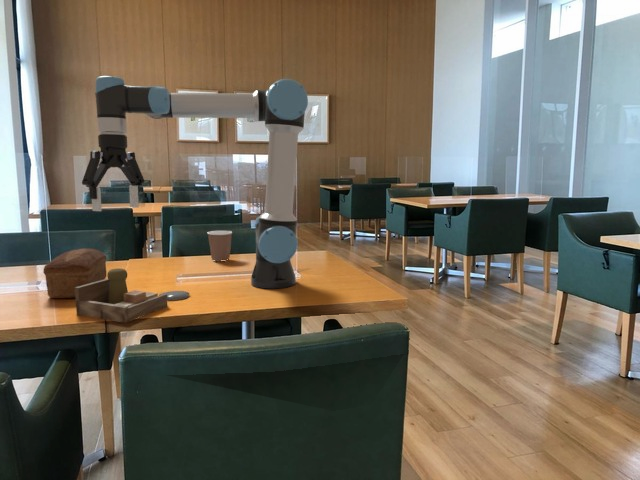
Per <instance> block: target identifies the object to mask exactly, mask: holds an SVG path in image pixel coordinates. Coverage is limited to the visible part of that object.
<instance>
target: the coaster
mask: <svg viewBox="0 0 640 480" xmlns="http://www.w3.org/2000/svg"><path fill="white" fill-rule="evenodd" d="M162 294H167V302H169V301H180V300H184V299H187V298H189V297H190V292H188V291H184V290H170V291H165V292H161V293H160V294H158V296H159V295H162Z"/></svg>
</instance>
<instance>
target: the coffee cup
mask: <svg viewBox="0 0 640 480" xmlns="http://www.w3.org/2000/svg"><path fill="white" fill-rule="evenodd" d="M206 233H207V237H208V243H209V250H210V257H211V260H215V261H221V260H227V259H229V260H230V254H231V246H232V234H233V231H232V230H211V231H207V232H206Z"/></svg>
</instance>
